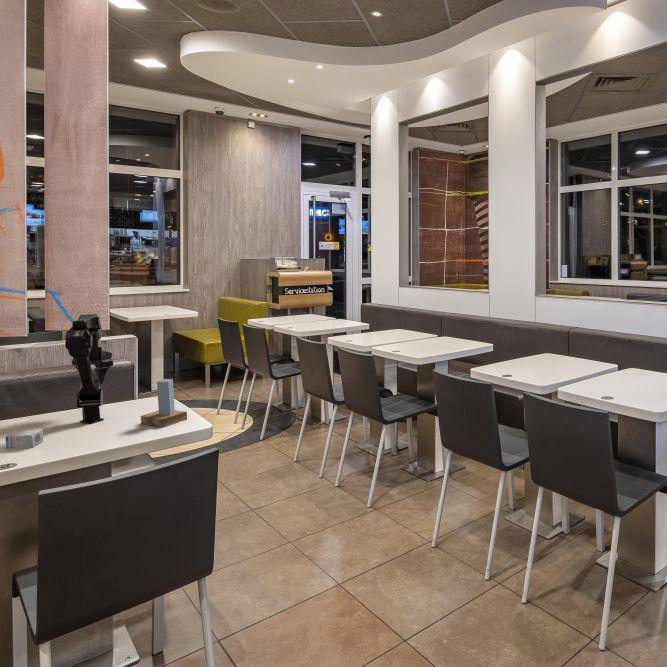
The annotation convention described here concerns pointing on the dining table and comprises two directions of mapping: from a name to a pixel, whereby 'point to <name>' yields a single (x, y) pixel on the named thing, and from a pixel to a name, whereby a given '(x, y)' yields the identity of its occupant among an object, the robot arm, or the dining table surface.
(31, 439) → the medicine box
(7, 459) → the dining table surface
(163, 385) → the pillar block
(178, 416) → the walnut plinth
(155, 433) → the dining table surface
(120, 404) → the dining table surface
